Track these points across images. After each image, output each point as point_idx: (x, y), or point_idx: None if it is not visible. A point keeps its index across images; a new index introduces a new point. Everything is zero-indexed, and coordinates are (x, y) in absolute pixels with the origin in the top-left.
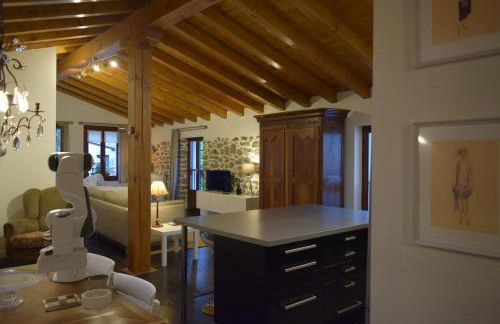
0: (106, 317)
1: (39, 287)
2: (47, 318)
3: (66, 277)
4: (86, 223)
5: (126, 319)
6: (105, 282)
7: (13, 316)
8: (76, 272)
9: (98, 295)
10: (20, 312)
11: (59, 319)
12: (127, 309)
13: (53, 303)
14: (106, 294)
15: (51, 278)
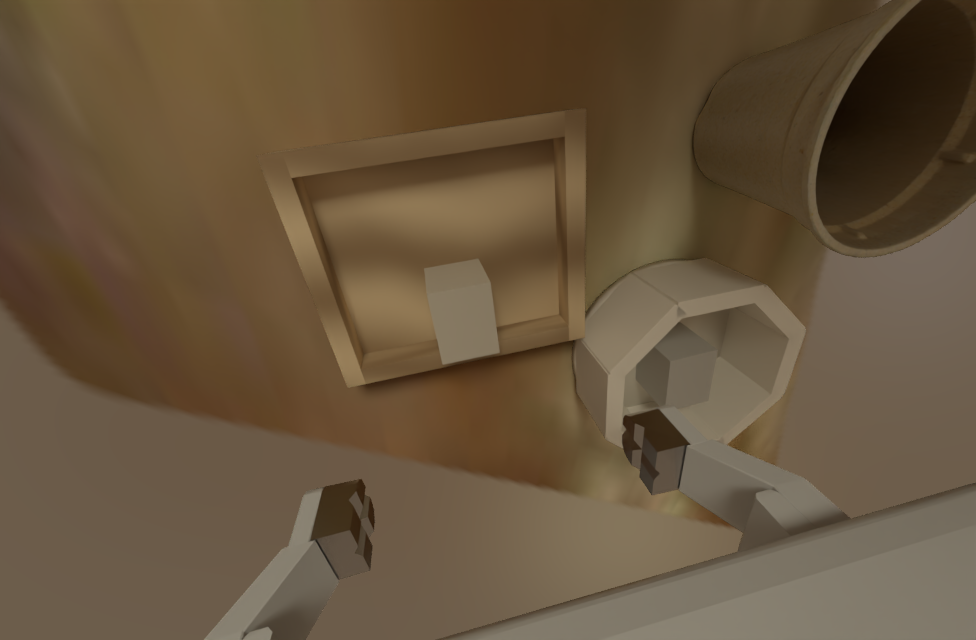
0: (636, 491)
1: None
2: (381, 443)
3: None
4: None
5: (687, 518)
6: (889, 194)
7: (116, 355)
8: (723, 510)
9: (701, 382)
10: (136, 292)
11: (445, 467)
12: (739, 440)
13: (386, 223)
14: (740, 424)
15: (352, 570)
